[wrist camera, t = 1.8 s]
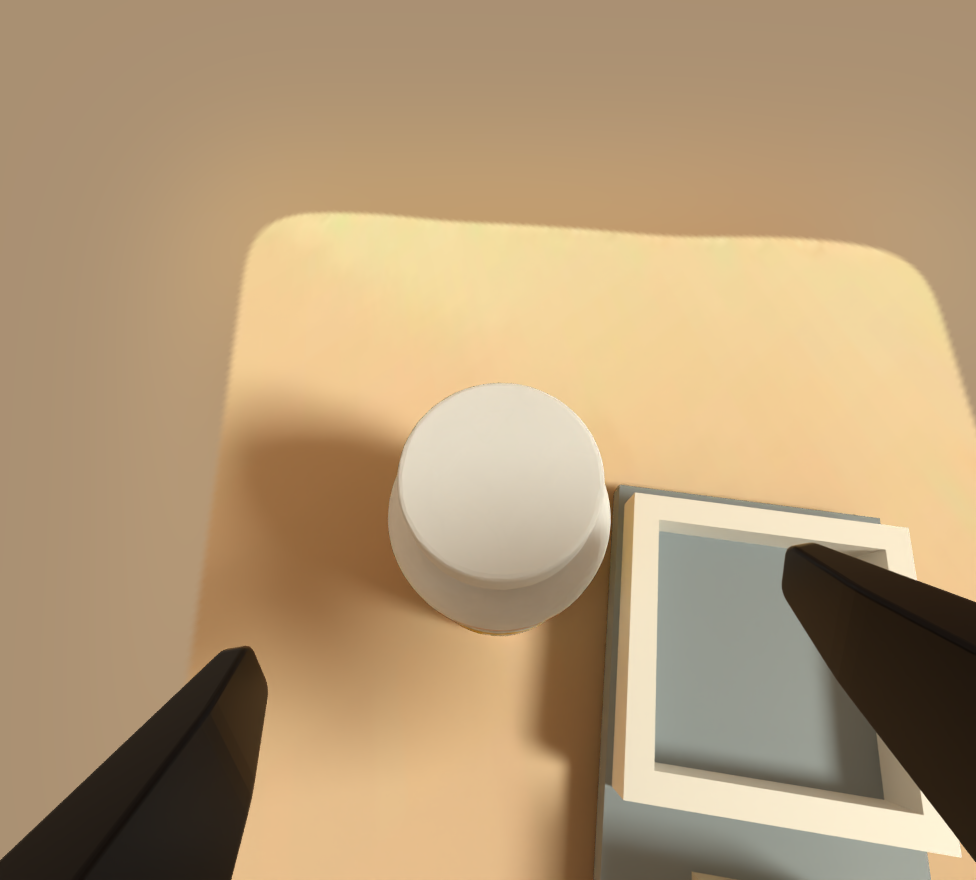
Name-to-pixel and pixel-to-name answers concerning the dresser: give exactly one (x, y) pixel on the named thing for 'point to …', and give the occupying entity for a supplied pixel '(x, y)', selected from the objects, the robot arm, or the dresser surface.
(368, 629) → the dresser surface
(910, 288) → the dresser surface
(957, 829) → the robot arm
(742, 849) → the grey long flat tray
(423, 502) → the supplement bottle
